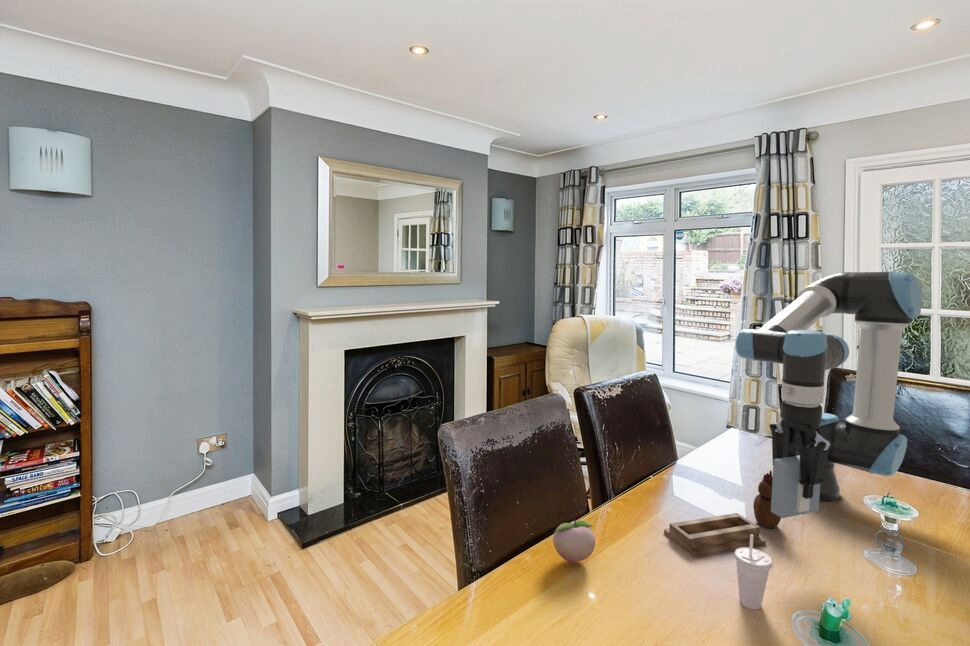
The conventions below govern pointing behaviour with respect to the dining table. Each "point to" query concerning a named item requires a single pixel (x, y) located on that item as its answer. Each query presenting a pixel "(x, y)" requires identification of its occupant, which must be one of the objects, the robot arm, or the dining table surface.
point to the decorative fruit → (574, 540)
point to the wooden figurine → (765, 503)
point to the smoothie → (752, 575)
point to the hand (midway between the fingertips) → (795, 506)
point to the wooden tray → (714, 534)
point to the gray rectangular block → (789, 488)
